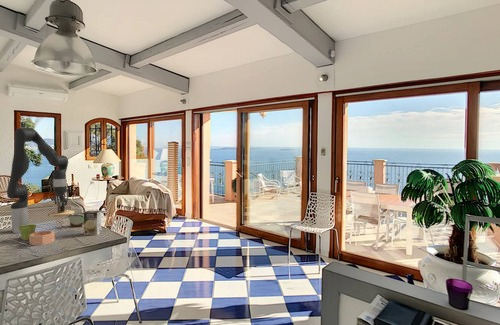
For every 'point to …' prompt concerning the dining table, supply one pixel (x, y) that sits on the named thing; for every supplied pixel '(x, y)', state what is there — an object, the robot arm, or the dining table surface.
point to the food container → (76, 220)
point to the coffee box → (92, 222)
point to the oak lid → (59, 213)
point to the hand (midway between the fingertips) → (61, 211)
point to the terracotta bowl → (41, 237)
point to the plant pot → (27, 231)
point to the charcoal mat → (67, 234)
